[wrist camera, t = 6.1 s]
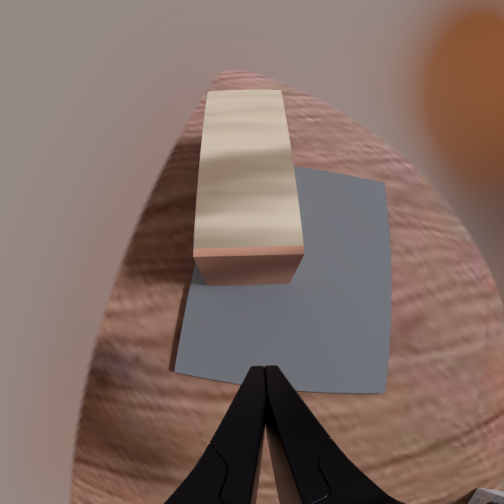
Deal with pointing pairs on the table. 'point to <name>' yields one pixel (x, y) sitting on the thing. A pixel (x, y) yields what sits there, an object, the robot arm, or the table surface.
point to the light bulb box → (487, 496)
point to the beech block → (246, 192)
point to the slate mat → (306, 300)
